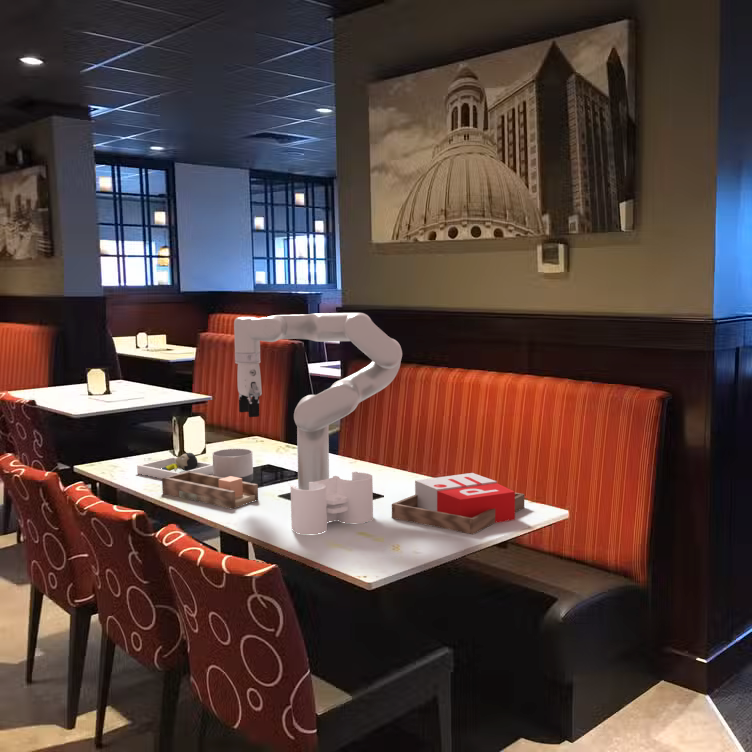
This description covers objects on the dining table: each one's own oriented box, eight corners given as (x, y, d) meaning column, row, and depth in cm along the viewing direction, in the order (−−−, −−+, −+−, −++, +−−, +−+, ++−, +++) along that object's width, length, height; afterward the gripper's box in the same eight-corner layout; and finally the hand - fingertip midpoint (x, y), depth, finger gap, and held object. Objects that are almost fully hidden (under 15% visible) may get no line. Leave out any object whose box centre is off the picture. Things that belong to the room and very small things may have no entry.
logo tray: (524, 507, 239) (524, 494, 239) (473, 534, 215) (473, 519, 215) (447, 494, 254) (447, 481, 254) (391, 517, 230) (391, 503, 230)
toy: (149, 466, 284) (188, 447, 292) (155, 482, 286) (194, 463, 294) (158, 471, 277) (198, 452, 284) (165, 488, 279) (204, 468, 286)
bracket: (308, 538, 214) (307, 493, 212) (286, 530, 221) (285, 486, 219) (380, 519, 230) (380, 476, 228) (358, 511, 237) (357, 470, 236)
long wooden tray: (258, 500, 250) (257, 484, 249) (231, 508, 241) (231, 492, 240) (189, 485, 268) (188, 470, 267) (162, 493, 259) (161, 477, 259)
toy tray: (215, 473, 285) (215, 464, 285) (179, 482, 272) (179, 473, 272) (173, 464, 298) (173, 456, 298) (137, 473, 285) (137, 465, 285)
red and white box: (519, 489, 227) (458, 498, 218) (519, 519, 228) (458, 529, 219) (472, 472, 248) (414, 480, 239) (472, 500, 249) (414, 508, 240)
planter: (258, 485, 268) (257, 454, 266) (220, 490, 262) (219, 458, 260) (245, 477, 279) (244, 447, 278) (208, 482, 273) (207, 451, 272)
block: (242, 494, 249) (242, 478, 249) (230, 498, 245) (230, 481, 245) (231, 492, 252) (230, 476, 252) (219, 495, 248) (218, 479, 248)
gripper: (268, 360, 241) (270, 417, 243) (251, 355, 256) (252, 409, 259) (243, 361, 238) (245, 419, 240) (227, 356, 253) (229, 411, 255)
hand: (249, 414), depth 249 cm, fingers open, 9 cm apart
